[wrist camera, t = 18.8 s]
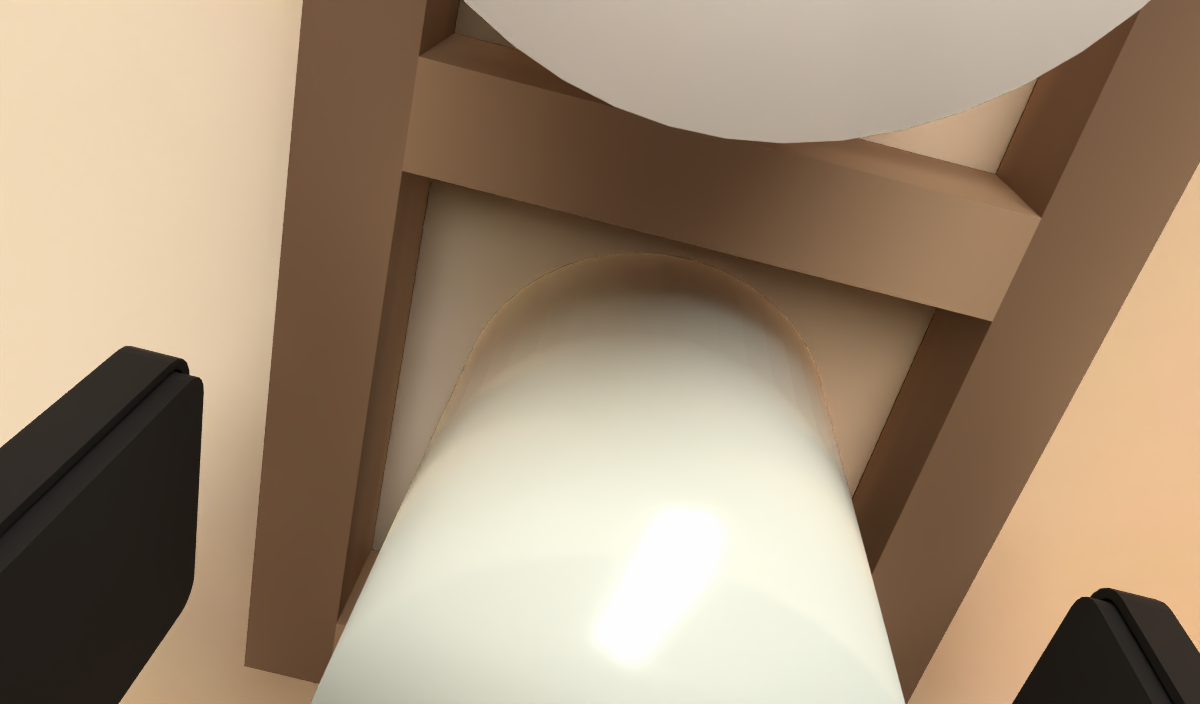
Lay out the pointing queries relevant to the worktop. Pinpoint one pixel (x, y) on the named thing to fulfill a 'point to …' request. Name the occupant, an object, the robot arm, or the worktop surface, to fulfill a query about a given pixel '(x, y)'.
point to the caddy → (721, 223)
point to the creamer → (801, 57)
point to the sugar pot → (625, 514)
